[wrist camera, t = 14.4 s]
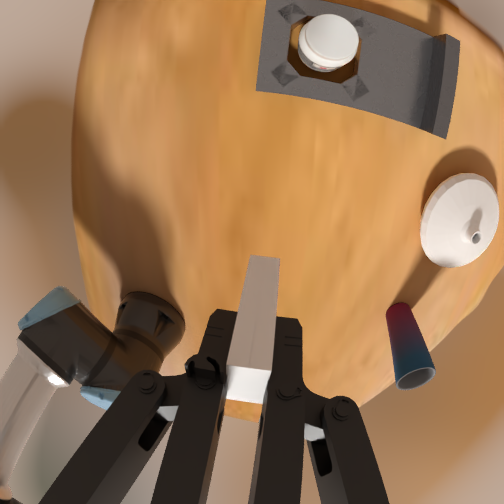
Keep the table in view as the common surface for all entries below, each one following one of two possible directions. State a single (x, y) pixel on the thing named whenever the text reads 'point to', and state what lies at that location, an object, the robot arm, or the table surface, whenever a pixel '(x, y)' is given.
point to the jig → (367, 65)
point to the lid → (459, 220)
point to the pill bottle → (327, 43)
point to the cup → (408, 349)
